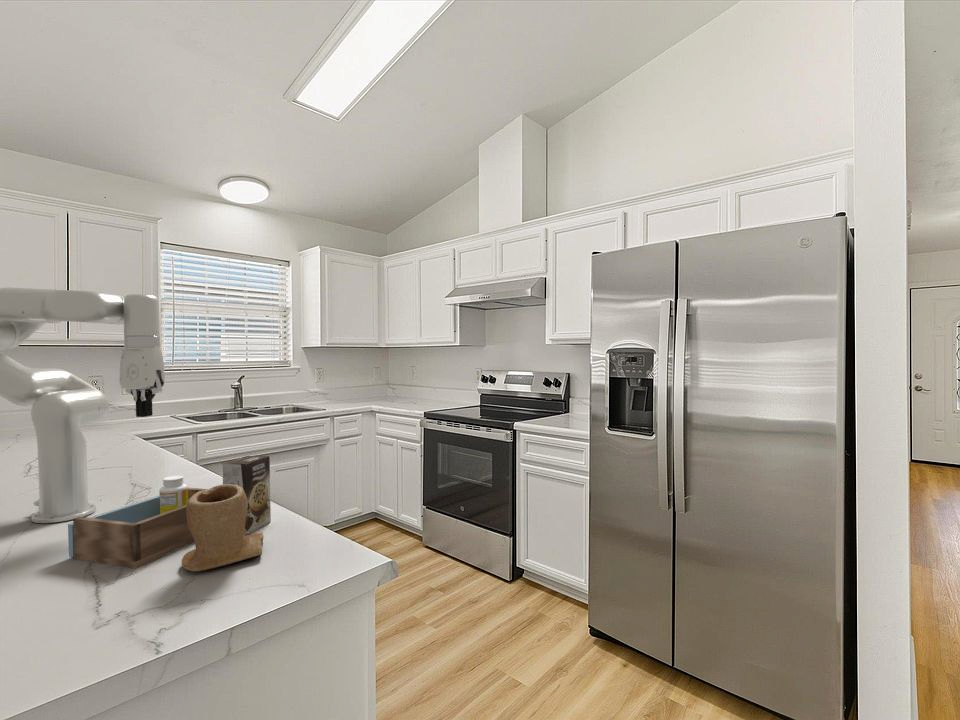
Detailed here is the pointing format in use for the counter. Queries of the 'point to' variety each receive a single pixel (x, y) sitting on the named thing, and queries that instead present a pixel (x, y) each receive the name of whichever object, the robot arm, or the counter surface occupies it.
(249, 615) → the counter surface
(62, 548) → the counter surface
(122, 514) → the tray
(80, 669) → the counter surface
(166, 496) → the supplement bottle
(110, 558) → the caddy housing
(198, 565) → the stone cup
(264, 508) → the coffee box
